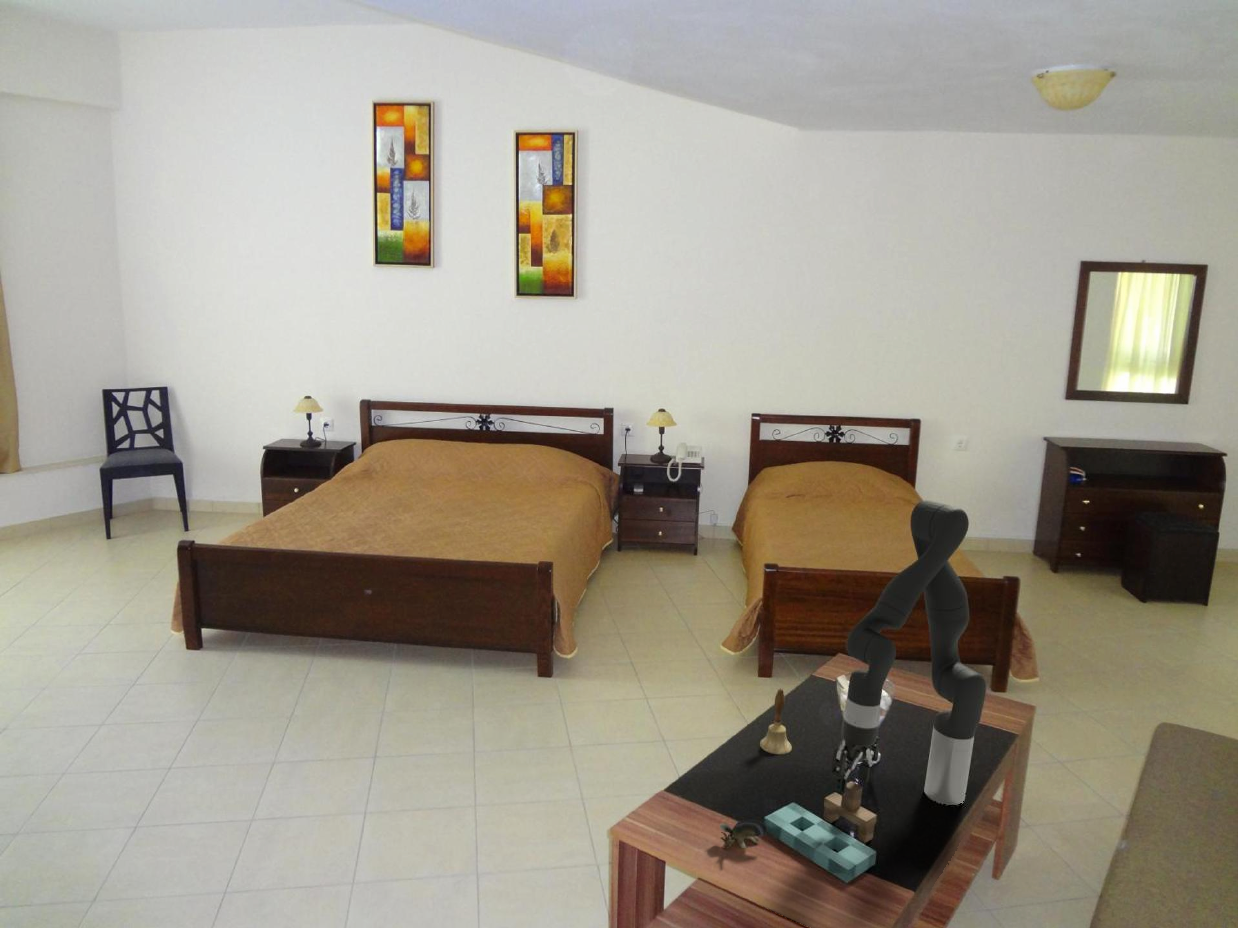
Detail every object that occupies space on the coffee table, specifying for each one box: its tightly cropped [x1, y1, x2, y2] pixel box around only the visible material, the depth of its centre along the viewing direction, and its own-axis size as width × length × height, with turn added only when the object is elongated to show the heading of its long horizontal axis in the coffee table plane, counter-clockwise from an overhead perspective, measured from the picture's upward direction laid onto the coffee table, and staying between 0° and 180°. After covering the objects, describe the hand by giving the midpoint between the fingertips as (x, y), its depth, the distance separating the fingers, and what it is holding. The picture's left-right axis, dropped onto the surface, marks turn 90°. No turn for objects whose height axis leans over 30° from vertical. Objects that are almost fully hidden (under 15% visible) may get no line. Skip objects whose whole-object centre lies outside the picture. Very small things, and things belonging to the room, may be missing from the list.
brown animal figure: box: [718, 819, 768, 853], centre depth 189 cm, size 8×7×9 cm
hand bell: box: [759, 688, 793, 755], centre depth 230 cm, size 8×8×16 cm
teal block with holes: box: [763, 801, 877, 884], centre depth 190 cm, size 22×10×3 cm, turn 41°
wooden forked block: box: [823, 780, 878, 844], centre depth 197 cm, size 11×4×10 cm, turn 41°
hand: (851, 785), depth 196 cm, fingers open, 8 cm apart
